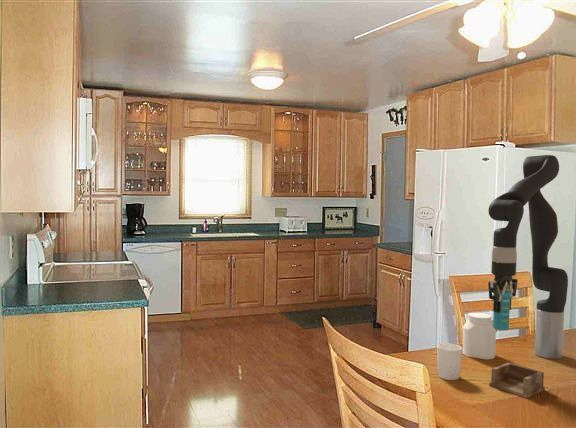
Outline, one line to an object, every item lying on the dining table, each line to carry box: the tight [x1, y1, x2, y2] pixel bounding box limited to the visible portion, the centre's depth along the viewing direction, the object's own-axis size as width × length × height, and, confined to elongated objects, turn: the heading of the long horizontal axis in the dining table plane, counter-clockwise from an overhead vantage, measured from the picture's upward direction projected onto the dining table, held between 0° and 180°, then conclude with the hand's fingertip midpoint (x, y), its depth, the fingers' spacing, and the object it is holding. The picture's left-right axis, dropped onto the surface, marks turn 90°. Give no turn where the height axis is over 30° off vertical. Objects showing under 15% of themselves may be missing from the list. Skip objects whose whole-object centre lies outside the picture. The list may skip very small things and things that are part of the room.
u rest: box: [489, 362, 546, 399], centre depth 160 cm, size 11×12×6 cm
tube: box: [492, 280, 511, 331], centre depth 169 cm, size 7×5×19 cm, turn 122°
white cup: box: [436, 342, 463, 381], centre depth 169 cm, size 8×8×10 cm
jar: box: [462, 312, 497, 360], centre depth 192 cm, size 12×10×15 cm
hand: (502, 310), depth 169 cm, fingers closed on tube, 5 cm apart
